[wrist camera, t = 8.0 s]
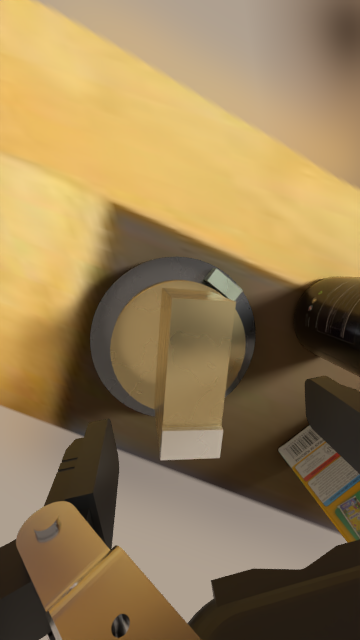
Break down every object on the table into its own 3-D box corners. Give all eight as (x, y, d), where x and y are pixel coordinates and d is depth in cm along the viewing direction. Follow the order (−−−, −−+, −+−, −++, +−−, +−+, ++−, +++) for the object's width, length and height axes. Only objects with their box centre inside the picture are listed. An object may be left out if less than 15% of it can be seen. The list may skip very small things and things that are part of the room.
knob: (114, 274, 18) (102, 282, 11) (245, 284, 20) (300, 295, 13) (110, 401, 20) (97, 471, 13) (230, 401, 21) (272, 464, 15)
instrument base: (157, 222, 20) (161, 216, 17) (273, 318, 23) (293, 326, 20) (62, 353, 21) (50, 368, 18) (185, 429, 24) (192, 452, 21)
